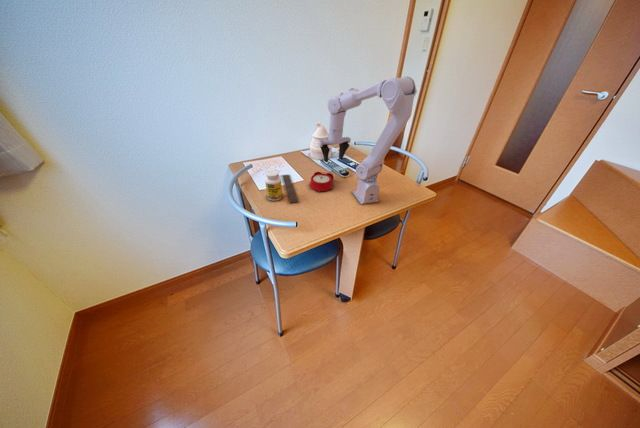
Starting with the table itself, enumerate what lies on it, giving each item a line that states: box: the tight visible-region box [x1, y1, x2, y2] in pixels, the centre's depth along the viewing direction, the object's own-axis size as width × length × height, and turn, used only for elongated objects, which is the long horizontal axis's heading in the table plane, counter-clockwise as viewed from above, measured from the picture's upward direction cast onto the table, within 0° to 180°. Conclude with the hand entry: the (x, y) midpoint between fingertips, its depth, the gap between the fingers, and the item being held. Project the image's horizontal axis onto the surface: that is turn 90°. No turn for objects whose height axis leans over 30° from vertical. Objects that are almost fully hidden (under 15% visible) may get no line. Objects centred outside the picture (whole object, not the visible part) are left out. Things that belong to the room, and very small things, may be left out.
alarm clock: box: [309, 171, 335, 193], centre depth 99 cm, size 10×6×15 cm
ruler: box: [282, 174, 299, 204], centre depth 97 cm, size 24×3×1 cm, turn 16°
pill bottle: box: [264, 170, 283, 202], centre depth 88 cm, size 6×6×11 cm
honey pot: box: [309, 121, 333, 160], centre depth 124 cm, size 13×13×18 cm
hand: (333, 159), depth 99 cm, fingers open, 7 cm apart
